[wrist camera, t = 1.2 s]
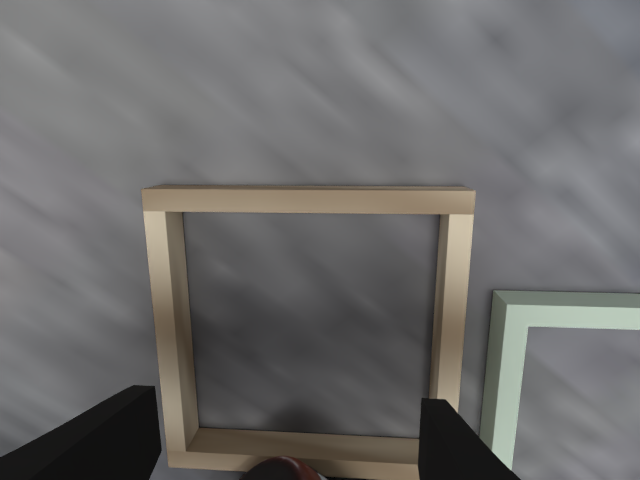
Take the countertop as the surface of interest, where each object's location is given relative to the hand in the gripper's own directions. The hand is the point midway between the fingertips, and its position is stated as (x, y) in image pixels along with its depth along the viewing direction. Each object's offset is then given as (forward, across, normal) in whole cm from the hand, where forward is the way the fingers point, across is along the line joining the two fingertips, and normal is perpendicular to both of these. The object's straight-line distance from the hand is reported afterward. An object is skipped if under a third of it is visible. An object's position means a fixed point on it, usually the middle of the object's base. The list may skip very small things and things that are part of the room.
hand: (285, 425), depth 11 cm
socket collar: (+6, 0, 0) cm, 6 cm away
